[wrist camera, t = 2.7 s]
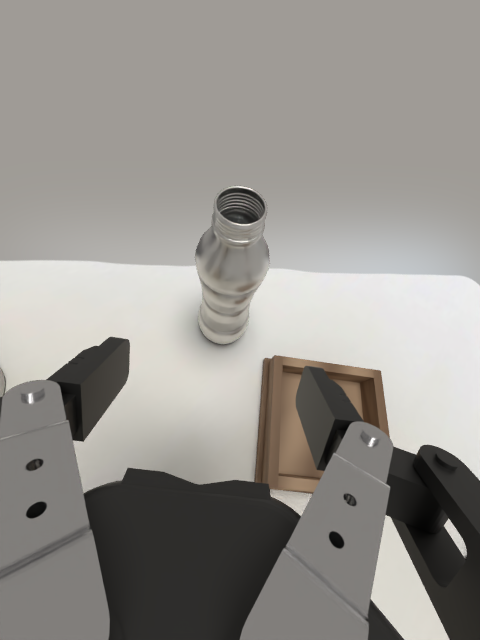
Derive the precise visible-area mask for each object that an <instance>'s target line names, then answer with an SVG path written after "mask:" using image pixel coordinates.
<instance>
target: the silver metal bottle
mask: <svg viewBox="0 0 480 640" xmlns="http://www.w3.org/2000/svg"><path fill="white" fill-rule="evenodd" d="M266 214H267V204H266V201H265V199H264V198H263V197H262V196H261V195H260V194H259V193H258V192H257V191H255V190H253V189H251V188H248V187H245V186H231V187H227V188H225V189H223V190H221V191H220V192H219V193H218V194H217V196H216V198H215V201H214V213H213V215H212V226H211V227H210V228H209V229H208V230H207V231H206V232H205V233H204V234H203V235H202V237H201V238H200V241H199V243H198V246H197V249H196V253H195V261H196V268H197V272H198V275H199V278H200V282H201V285H202V293H203V297H202V303H201V306H200V309H199V313H198V323H199V326H200V328H201V330H202V332H203V334H204V335H205V336H206V337H207V338H208V339H209V340H210V341H212V342H215V343H218V344H228V343H231V342H234V341H235V340H237V339H238V338H239V337H240V336H241V335H242V334H243V333H244V332H245V330H246V328H247V326H248V322H249V306H250V302H251V299H252V297H253V295H254V293H255V292H256V290H257V289H258V287H259V286H260V284H261V283H262V281H263V280H264V278H265V276H266V274H267V271H268V269H269V264H270V263H269V262H270V260H269V249H268V245H267V243H266V241H265V239H264V237H263V235H262V234H263V231H264V226H265V218H266Z"/></svg>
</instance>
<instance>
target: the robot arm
mask: <svg viewBox="0 0 480 640" xmlns="http://www.w3.org/2000/svg"><path fill="white" fill-rule="evenodd" d="M129 354H130V343H129V340H128V339H122V338H115V337H109V338H108V339H107V340H105V341H104V342H103V343H102V344H101V345H99V346H93V347H91V348H88V349H86V350H83V351H82V352H81V353H80V354H78V355H77V356H76V357H75V358H73V359H72V360H71V361H69V362H68V364H66V365H64V366H63V367H62V368H61V369H59V370H58V371H57V372H55V373H54V374H53V375H52V376H50V377H49V378H48V379H47V380H36V381H30V382H26V383H22V384H20V385H17V386H15V387H13V388H12V389H10V390H9V391H7V392H6V393H5V394H4V388H5V379H4V375H3V372H2V370H1V369H0V640H404V639H403V638H402V636H401V635H400V634H399V633H398V632H397V630H396V629H395V628H394V627H393V626H392V624H391V623H390V622H389V621H388V620H387V618H386V617H385V616H384V615H383V613H382V612H381V611H380V610H379V609H378V607H377V606H376V605H375V604H374V603H373V601H372V600H371V599H370V598H371V592H372V587H373V581H374V576H375V570H376V564H377V559H378V553H379V548H380V542H381V537H382V531H383V525H384V520H385V515H387V516H390V517H391V518H392V521H393V523H394V525H395V527H396V529H397V531H398V533H399V535H400V537H401V539H402V541H403V543H404V545H405V548H406V550H407V552H408V554H409V556H410V558H411V560H412V562H413V564H414V566H415V568H416V570H417V573H418V575H419V577H420V579H421V581H422V583H423V585H424V587H425V589H426V591H427V593H428V595H429V597H430V600H431V602H432V604H433V606H434V608H435V610H436V612H437V614H438V616H439V618H440V620H441V622H442V624H443V627H444V629H445V631H446V633H447V635H448V637H449V639H450V640H480V480H479V479H478V478H477V477H476V476H475V475H474V474H473V473H472V472H471V471H470V469H469V468H468V467H467V466H466V465H465V464H464V463H463V462H462V461H460V460H459V459H458V458H457V457H455V456H454V455H452V454H451V453H449V452H447V451H445V450H443V449H441V448H438V447H435V446H432V445H423V446H421V447H420V449H419V451H418V453H417V455H415V454H412V453H410V452H407V451H404V450H401V449H398V448H396V447H393V443H392V441H391V440H390V438H389V437H388V436H387V435H386V434H385V433H384V432H383V431H381V430H380V429H379V428H377V427H375V426H373V425H371V424H368V423H365V422H364V421H363V419H362V418H361V416H360V415H359V413H358V412H357V410H356V408H355V407H354V405H353V404H352V403H351V401H350V399H349V398H348V397H347V395H346V393H345V392H344V390H343V389H342V387H341V386H339V385H338V384H337V383H336V382H335V381H333V380H330V379H329V377H328V376H327V374H326V373H325V371H324V369H323V368H320V367H313V366H305V367H304V369H303V372H302V376H301V379H300V383H299V386H298V390H297V393H296V401H295V402H296V409H297V412H298V415H299V418H300V421H301V424H302V427H303V430H304V433H305V436H306V439H307V442H308V445H309V448H310V451H311V454H312V457H313V460H314V464H315V467H316V470H321V471H324V473H323V475H322V477H321V479H320V481H319V483H318V485H317V487H316V489H315V491H314V493H313V495H312V497H311V498H310V500H309V502H308V504H307V506H306V508H305V510H304V512H303V514H302V516H300V515H299V514H298V513H297V512H295V511H294V510H293V509H292V508H290V507H289V506H287V505H286V504H284V503H283V502H281V501H279V500H277V499H275V498H272V497H270V489H269V484H266V483H257V482H248V481H239V480H232V481H225V482H217V483H210V484H203V485H198V484H194V483H191V482H189V481H186V480H183V479H181V478H178V477H175V476H173V475H170V474H168V473H165V472H160V471H151V470H142V469H133V468H128V469H127V471H126V473H125V475H124V478H123V480H122V481H116V482H112V483H108V484H105V485H102V486H99V487H96V488H94V489H92V490H89V491H87V492H85V493H84V494H83V490H82V485H81V480H80V475H79V470H78V465H77V460H76V455H75V450H74V445H73V440H75V441H83V442H84V440H85V439H86V437H87V436H88V435H89V433H90V432H91V430H92V429H93V428H94V426H95V425H96V424H97V422H98V421H99V419H100V418H101V417H102V415H103V414H104V413H105V411H106V410H107V408H108V407H109V406H110V404H111V403H112V401H113V400H114V399H115V397H116V396H117V395H118V393H119V392H120V390H121V389H122V388H123V386H124V385H125V383H126V381H127V378H128V374H129ZM3 394H4V396H3ZM448 518H449V519H450V520H451V522H452V523H453V525H454V526H455V528H456V529H457V531H458V532H459V534H460V535H461V537H462V538H463V540H464V542H465V545H466V549H467V560H465V558H464V557H463V555H462V554H461V552H460V550H459V549H458V547H457V546H456V544H455V543H454V541H453V540H452V538H451V536H450V535H449V533H448V532H447V530H446V529H445V527H444V524H445V523H446V521H447V520H448Z"/></svg>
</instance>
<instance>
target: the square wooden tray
mask: <svg viewBox="0 0 480 640" xmlns="http://www.w3.org/2000/svg"><path fill="white" fill-rule="evenodd" d="M305 366H313V367H320V368H323V369H324V371H325V373H326V374H327V376H328V377H329V379H330V380H333V381H335V382H336V383H337V384H338V385H339V386H341V387H342V389H343V390H344V392H345V393H346V395H347V397H348V398H349V399H350V401H351V403H352V404H353V405H354V407H355V408H356V410H357V412H358V413H359V415H360V416H361V418H362V419H363V421H364V422H365V423H368V424H371V425H373V426H375V427H377V428H379V429H380V430H381V431H383V432H384V433H385V434H386V435H387V436H388V437H389V438H390V436H389V429H388V421H387V414H386V406H385V399H384V391H383V384H382V376H381V371H379V370H372V369H365V368H359V367H352V366H345V365H338V364H331V363H324V362H317V361H310V360H304V359H297V358H290V357H283V356H276V355H274V357H273V358H272V359H269V358H265V359H264V361H263V375H262V389H261V403H260V417H259V431H258V445H257V459H256V473H255V482H257V483H266V484H269V489H277V490H286V491H295V492H304V493H314V491H315V489H316V487H317V485H318V483H319V481H320V479H321V477H322V475H323V473H324V471H321V470H316V467H315V464H314V460H313V457H312V454H311V451H310V448H309V445H308V442H307V439H306V436H305V433H304V430H303V427H302V424H301V421H300V418H299V415H298V412H297V409H296V402H295V401H296V393H297V390H298V386H299V383H300V379H301V376H302V372H303V369H304V367H305Z"/></svg>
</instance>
